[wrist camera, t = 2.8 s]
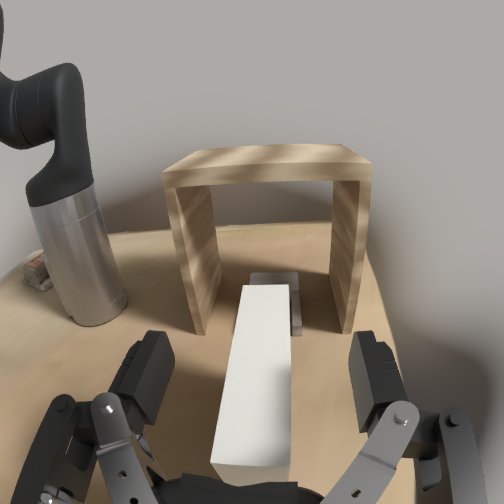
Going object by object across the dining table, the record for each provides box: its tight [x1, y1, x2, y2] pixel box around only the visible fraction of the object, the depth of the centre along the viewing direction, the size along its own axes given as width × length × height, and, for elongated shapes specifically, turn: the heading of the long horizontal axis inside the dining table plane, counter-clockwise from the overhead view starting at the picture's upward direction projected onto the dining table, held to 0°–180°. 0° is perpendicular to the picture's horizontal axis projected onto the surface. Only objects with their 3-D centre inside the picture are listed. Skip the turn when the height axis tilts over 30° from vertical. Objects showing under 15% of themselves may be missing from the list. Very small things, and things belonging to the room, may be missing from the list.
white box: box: [210, 285, 291, 486], centre depth 16 cm, size 3×12×12 cm, turn 175°
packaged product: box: [23, 252, 53, 291], centre depth 48 cm, size 18×5×10 cm
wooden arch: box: [161, 144, 372, 336], centre depth 31 cm, size 18×12×18 cm
